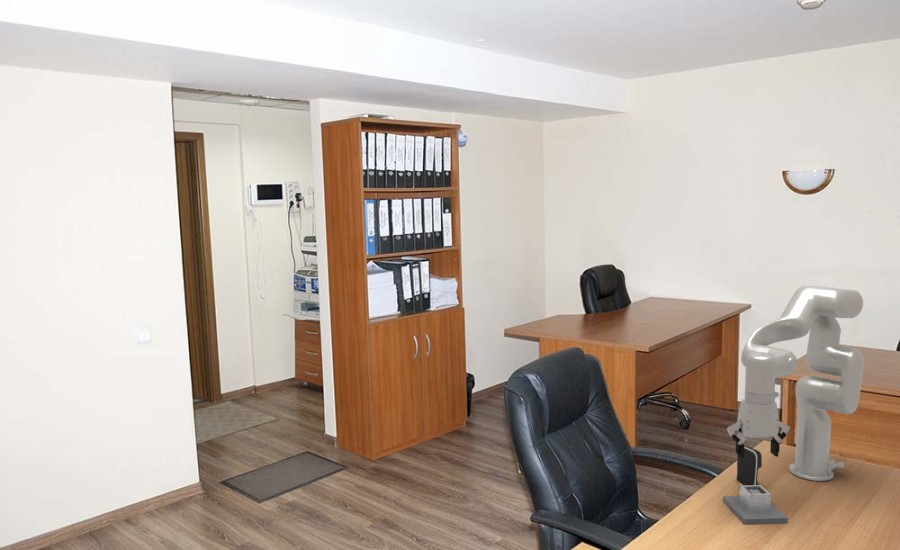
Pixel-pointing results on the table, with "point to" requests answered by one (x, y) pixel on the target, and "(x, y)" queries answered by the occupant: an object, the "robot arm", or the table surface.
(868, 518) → the table surface
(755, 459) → the battery charger
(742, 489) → the collar
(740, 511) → the stand
